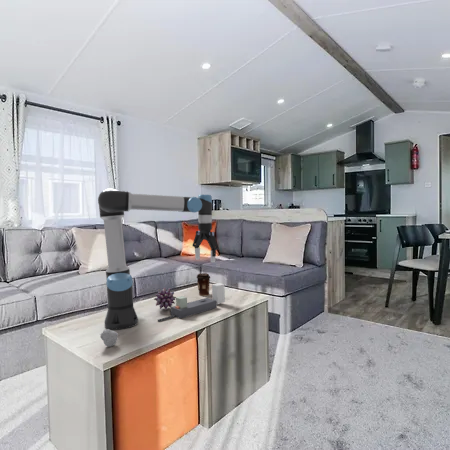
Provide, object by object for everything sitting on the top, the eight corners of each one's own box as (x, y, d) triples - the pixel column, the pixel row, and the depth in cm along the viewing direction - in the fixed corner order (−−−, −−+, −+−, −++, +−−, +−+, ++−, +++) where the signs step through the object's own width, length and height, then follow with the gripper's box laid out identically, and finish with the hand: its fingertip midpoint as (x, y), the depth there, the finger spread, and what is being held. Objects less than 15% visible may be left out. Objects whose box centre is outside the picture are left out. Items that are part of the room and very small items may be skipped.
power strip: (162, 323, 160) (162, 313, 160) (153, 319, 166) (153, 310, 166) (216, 307, 183) (216, 299, 183) (207, 304, 189) (207, 296, 189)
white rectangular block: (217, 306, 186) (217, 285, 186) (212, 304, 190) (211, 284, 189) (224, 304, 190) (224, 284, 189) (219, 302, 193) (218, 283, 192)
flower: (152, 313, 176) (151, 290, 176) (156, 306, 188) (155, 285, 188) (174, 312, 177) (173, 290, 176) (177, 305, 189) (176, 284, 188)
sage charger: (180, 308, 170) (180, 299, 169) (176, 307, 173) (175, 297, 172) (187, 307, 172) (186, 297, 172) (182, 305, 175) (182, 296, 175)
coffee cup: (194, 296, 208) (194, 275, 207) (199, 292, 216) (198, 272, 215) (208, 296, 206) (208, 275, 205) (212, 293, 214) (211, 273, 213)
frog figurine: (98, 346, 136) (97, 329, 136) (116, 341, 140) (115, 325, 140) (102, 351, 131) (102, 333, 131) (120, 346, 135) (120, 329, 135)
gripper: (225, 223, 180) (225, 262, 181) (196, 221, 198) (196, 257, 199) (214, 223, 175) (214, 264, 176) (186, 222, 193) (186, 259, 194)
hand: (205, 261), depth 188 cm, fingers open, 13 cm apart
